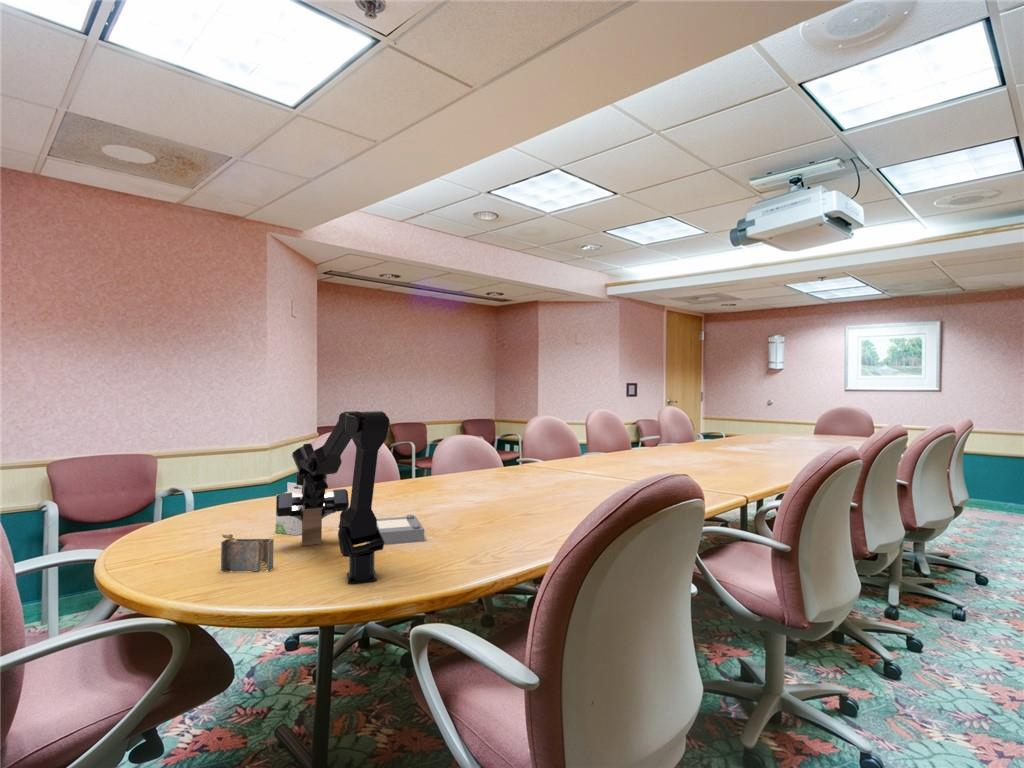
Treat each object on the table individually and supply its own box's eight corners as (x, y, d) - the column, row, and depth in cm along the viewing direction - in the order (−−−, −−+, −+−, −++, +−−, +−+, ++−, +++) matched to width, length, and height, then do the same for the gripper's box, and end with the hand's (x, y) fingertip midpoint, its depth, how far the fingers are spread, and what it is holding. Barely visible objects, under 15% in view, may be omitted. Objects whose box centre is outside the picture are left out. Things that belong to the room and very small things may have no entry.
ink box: (274, 533, 160) (275, 484, 160) (286, 529, 164) (286, 481, 164) (297, 536, 157) (298, 486, 157) (308, 531, 162) (309, 483, 162)
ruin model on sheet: (219, 574, 126) (220, 534, 126) (226, 570, 129) (226, 530, 129) (267, 574, 126) (268, 534, 126) (273, 570, 129) (273, 530, 129)
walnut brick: (321, 543, 149) (321, 508, 149) (302, 545, 147) (303, 510, 147) (320, 539, 154) (320, 505, 154) (301, 541, 152) (302, 506, 152)
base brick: (424, 541, 153) (424, 526, 153) (367, 546, 148) (367, 530, 148) (415, 527, 168) (415, 513, 168) (363, 531, 163) (364, 517, 163)
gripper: (347, 461, 151) (343, 492, 161) (276, 464, 143) (276, 497, 153) (351, 493, 144) (345, 524, 154) (276, 499, 136) (276, 531, 146)
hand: (311, 518), depth 152 cm, fingers closed on walnut brick, 5 cm apart
